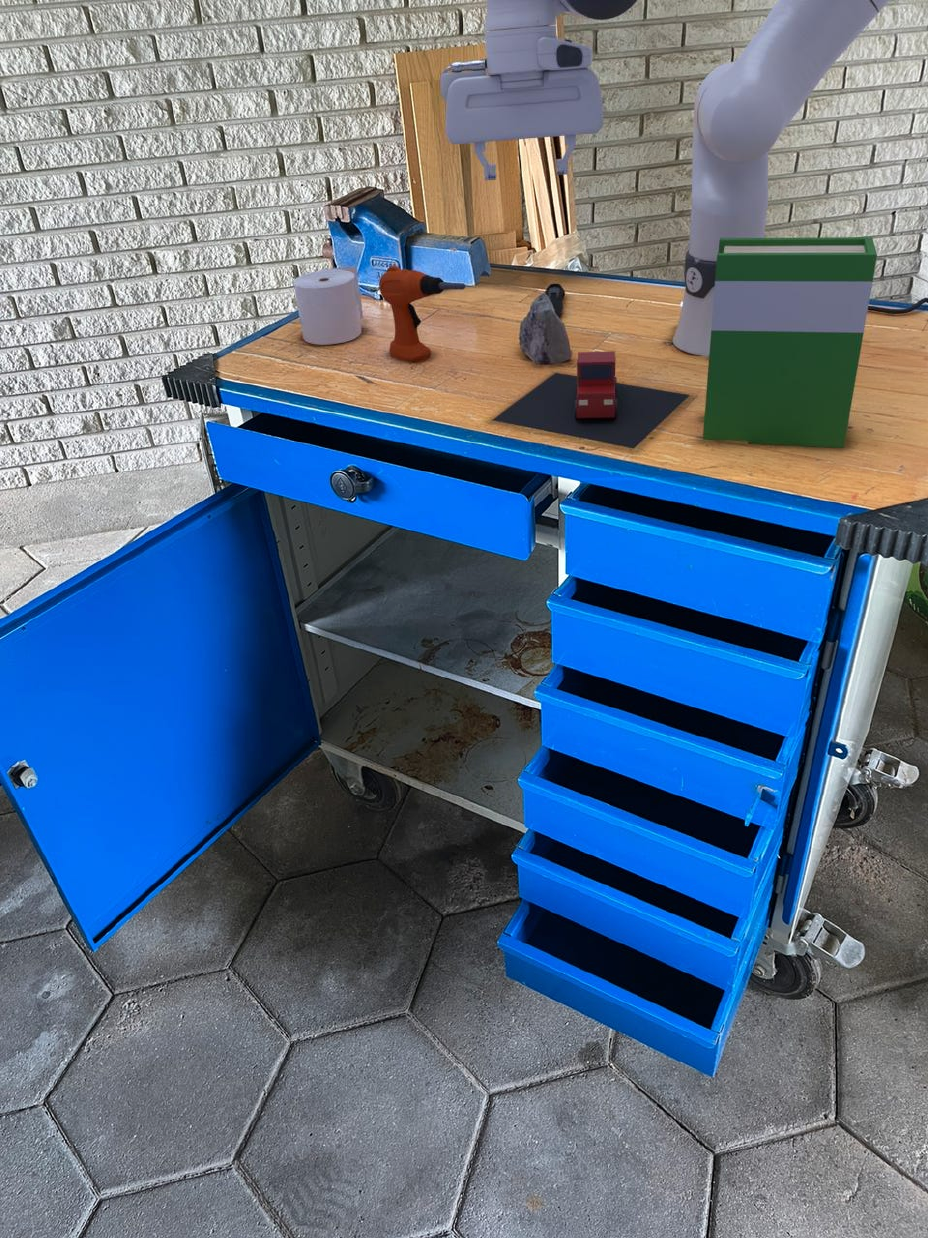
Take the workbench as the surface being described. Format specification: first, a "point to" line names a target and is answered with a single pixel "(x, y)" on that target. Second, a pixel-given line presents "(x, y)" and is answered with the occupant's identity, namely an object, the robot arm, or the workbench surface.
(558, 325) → the mineral rock
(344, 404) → the workbench surface
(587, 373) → the toy pickup truck
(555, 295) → the electric trimmer
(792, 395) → the hardback book
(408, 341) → the toy drill
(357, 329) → the toilet tissue
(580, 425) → the mat
